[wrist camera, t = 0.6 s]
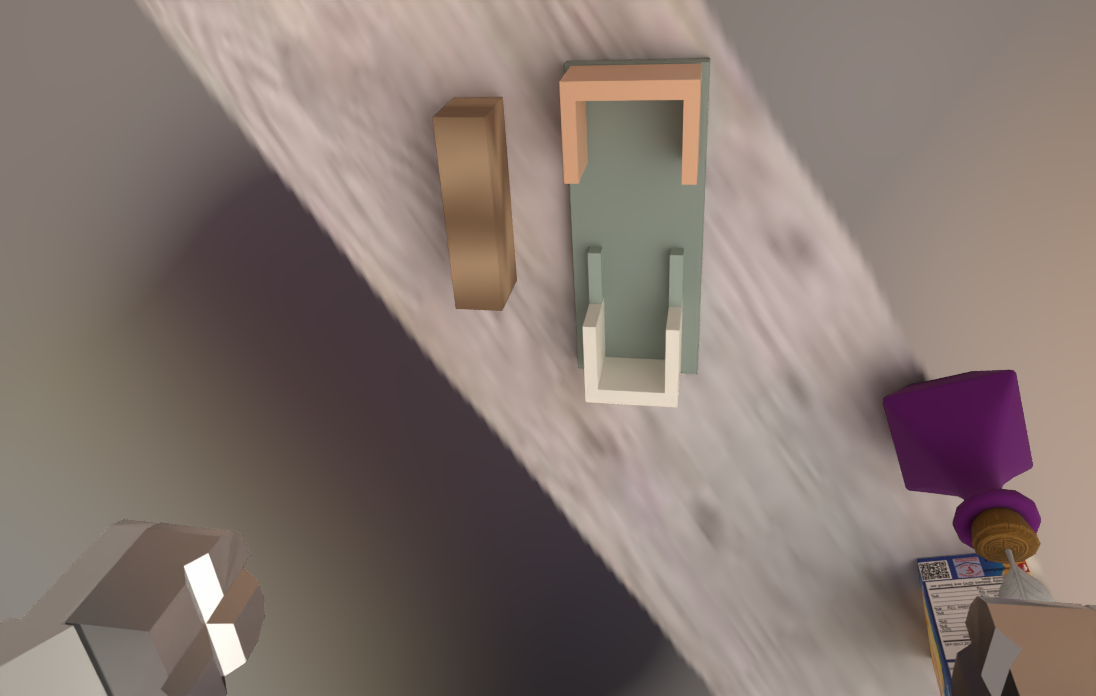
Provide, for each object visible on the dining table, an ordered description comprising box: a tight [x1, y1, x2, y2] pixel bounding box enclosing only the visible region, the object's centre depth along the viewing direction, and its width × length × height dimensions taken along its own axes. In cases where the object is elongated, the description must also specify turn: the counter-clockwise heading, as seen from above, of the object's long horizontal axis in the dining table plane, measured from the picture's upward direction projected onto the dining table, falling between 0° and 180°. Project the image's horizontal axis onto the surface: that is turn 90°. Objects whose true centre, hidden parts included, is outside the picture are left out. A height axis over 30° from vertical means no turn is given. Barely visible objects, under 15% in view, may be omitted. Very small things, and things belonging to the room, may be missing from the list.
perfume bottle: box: [883, 370, 1056, 602], centre depth 47 cm, size 8×8×18 cm
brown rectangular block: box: [433, 97, 517, 311], centre depth 51 cm, size 12×3×4 cm, turn 3°
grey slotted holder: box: [564, 58, 710, 407], centre depth 50 cm, size 20×8×5 cm, turn 3°
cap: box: [559, 63, 702, 185], centre depth 46 cm, size 6×7×4 cm
